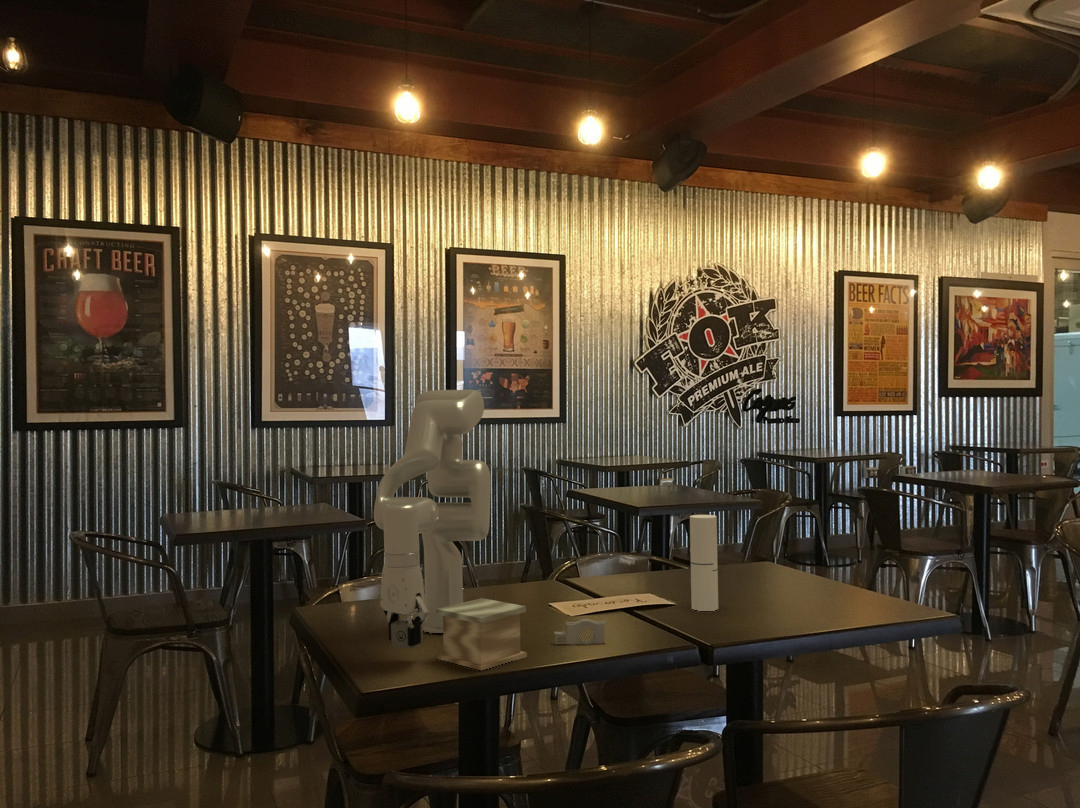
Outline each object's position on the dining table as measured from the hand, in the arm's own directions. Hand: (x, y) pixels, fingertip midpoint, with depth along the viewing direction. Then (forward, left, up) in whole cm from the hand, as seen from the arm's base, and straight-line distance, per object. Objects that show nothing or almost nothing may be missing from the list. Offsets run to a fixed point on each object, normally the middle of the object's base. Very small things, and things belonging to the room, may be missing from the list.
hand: (404, 641), depth 195 cm
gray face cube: (0, +1, -1) cm, 1 cm away
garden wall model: (+20, +36, -5) cm, 41 cm away
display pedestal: (+11, +13, -5) cm, 17 cm away
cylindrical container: (+24, +84, -5) cm, 87 cm away
